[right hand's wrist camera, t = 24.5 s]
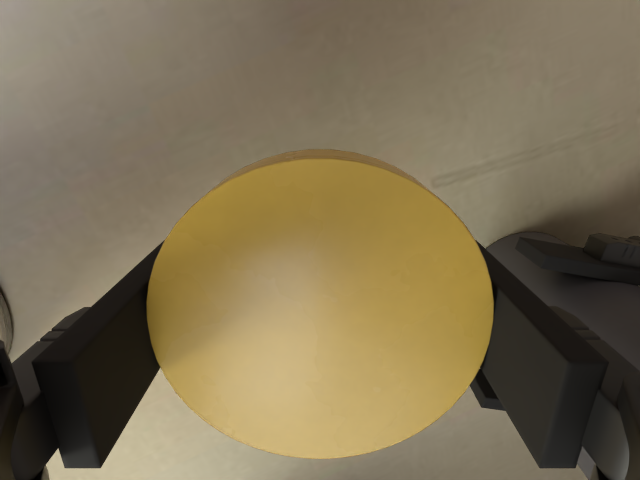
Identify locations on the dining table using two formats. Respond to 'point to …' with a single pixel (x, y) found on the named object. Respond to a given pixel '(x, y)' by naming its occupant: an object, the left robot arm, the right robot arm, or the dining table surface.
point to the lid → (320, 305)
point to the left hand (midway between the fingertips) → (500, 323)
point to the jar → (580, 303)
